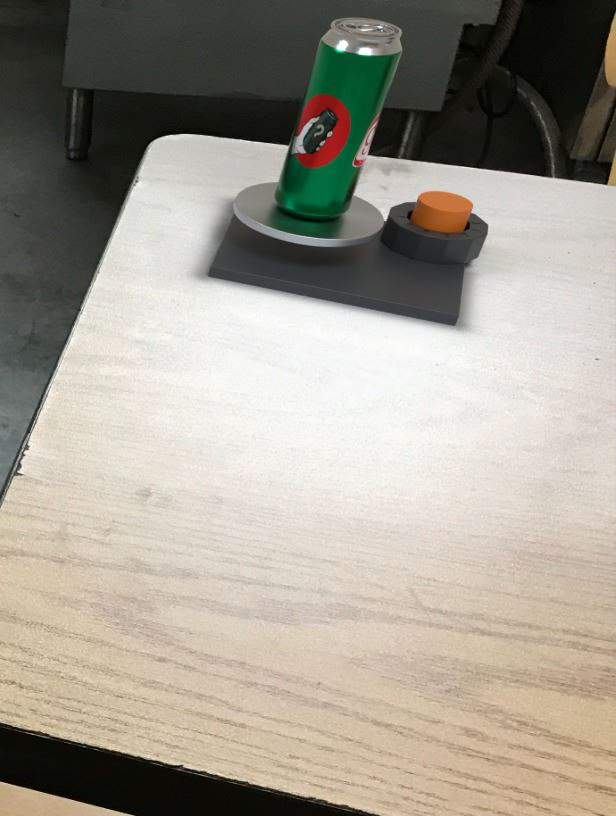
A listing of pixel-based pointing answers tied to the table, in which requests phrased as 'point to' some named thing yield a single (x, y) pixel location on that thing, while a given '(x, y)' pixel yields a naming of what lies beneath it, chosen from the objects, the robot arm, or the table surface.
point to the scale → (361, 266)
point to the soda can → (338, 118)
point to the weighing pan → (269, 219)
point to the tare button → (441, 211)
